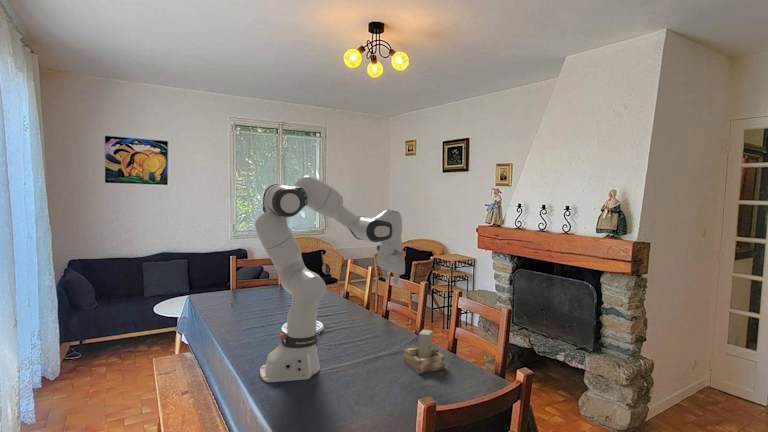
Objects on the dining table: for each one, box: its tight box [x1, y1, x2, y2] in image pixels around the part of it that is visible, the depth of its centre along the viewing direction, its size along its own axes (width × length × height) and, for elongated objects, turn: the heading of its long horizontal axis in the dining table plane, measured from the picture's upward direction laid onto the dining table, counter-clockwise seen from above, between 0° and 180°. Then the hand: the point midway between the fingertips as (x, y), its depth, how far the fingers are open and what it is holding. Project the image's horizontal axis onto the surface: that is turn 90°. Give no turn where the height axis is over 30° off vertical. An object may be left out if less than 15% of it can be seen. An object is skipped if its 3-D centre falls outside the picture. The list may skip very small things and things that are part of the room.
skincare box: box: [418, 328, 434, 359], centre depth 165 cm, size 6×4×12 cm
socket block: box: [403, 346, 446, 375], centre depth 164 cm, size 12×12×6 cm
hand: (390, 281), depth 174 cm, fingers open, 8 cm apart
